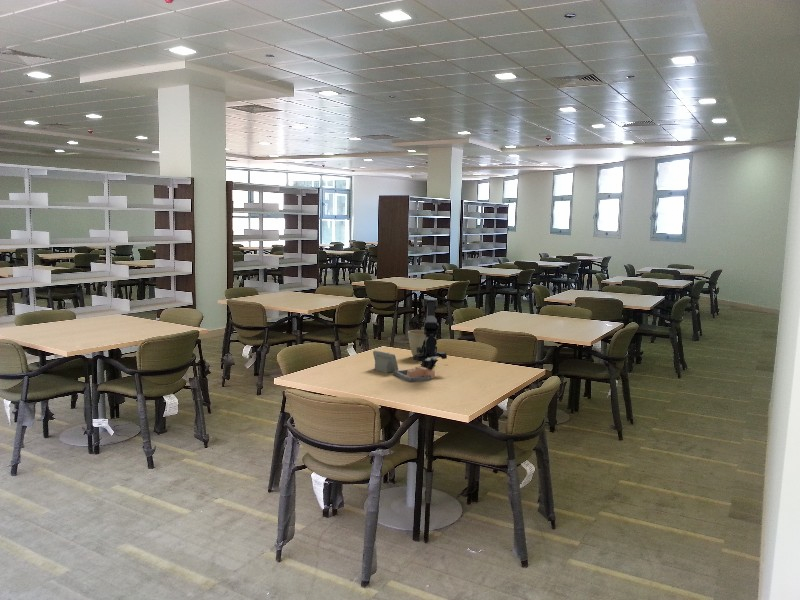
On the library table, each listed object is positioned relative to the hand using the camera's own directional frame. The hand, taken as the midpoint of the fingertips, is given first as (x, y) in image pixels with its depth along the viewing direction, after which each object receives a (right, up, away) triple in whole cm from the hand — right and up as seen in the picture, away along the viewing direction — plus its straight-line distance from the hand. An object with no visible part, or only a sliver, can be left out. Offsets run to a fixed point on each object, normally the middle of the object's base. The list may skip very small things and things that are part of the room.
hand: (429, 372), depth 348 cm
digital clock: (-24, 0, +9) cm, 26 cm away
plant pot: (-4, +4, +46) cm, 47 cm away
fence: (-9, -2, -5) cm, 11 cm away
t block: (-6, -2, -4) cm, 7 cm away
